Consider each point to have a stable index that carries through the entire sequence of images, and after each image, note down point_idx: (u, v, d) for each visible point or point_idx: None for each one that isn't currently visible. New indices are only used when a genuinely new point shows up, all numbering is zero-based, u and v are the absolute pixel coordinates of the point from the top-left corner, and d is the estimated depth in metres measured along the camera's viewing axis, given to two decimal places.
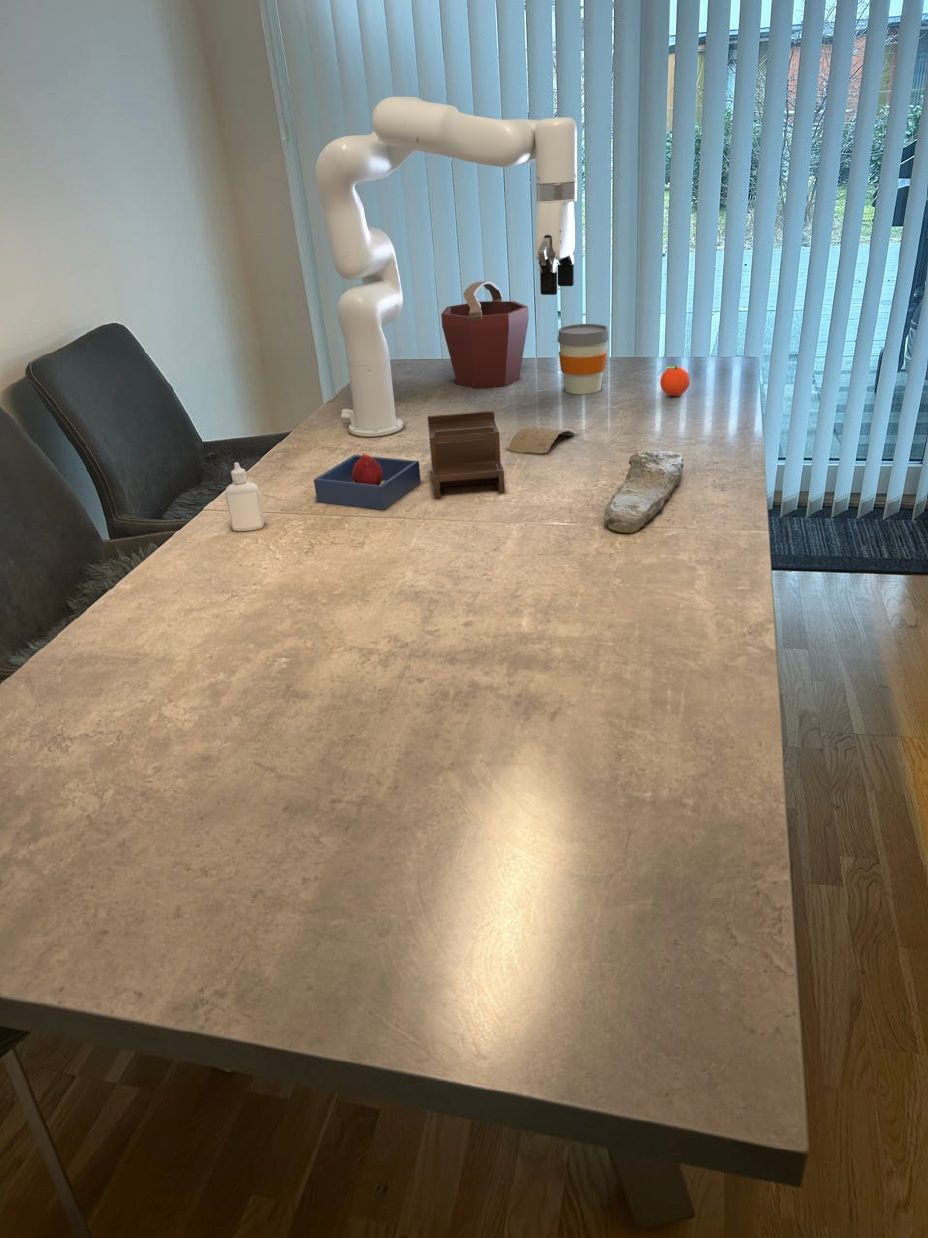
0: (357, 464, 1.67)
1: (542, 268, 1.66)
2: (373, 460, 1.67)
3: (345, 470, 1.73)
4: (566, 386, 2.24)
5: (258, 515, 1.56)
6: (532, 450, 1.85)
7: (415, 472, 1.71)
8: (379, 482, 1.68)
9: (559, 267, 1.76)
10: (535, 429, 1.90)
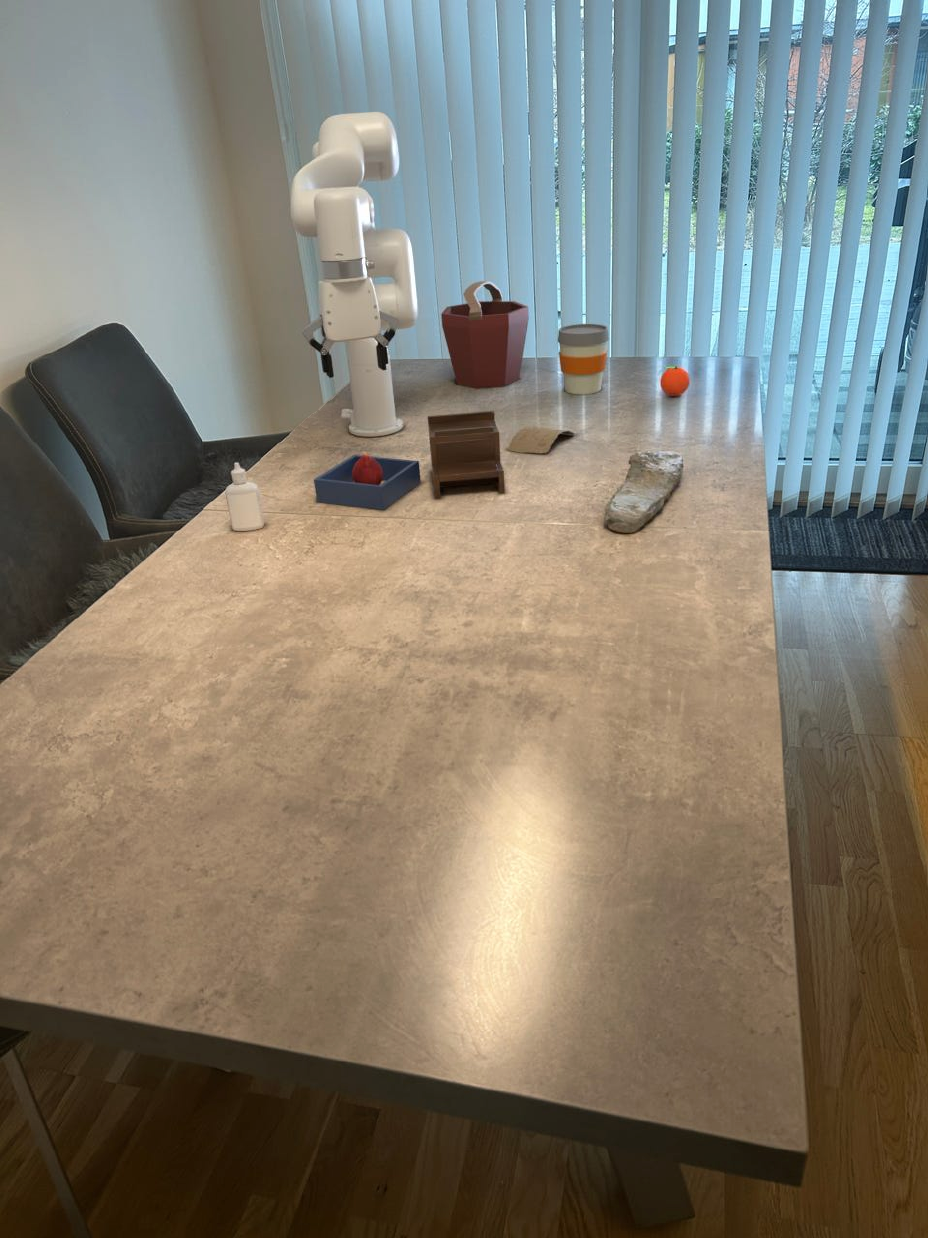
0: (357, 464, 1.67)
1: None
2: (373, 460, 1.67)
3: (345, 470, 1.73)
4: (566, 386, 2.24)
5: (258, 515, 1.56)
6: (532, 450, 1.85)
7: (415, 472, 1.71)
8: (379, 482, 1.68)
9: (376, 348, 1.60)
10: (535, 429, 1.90)
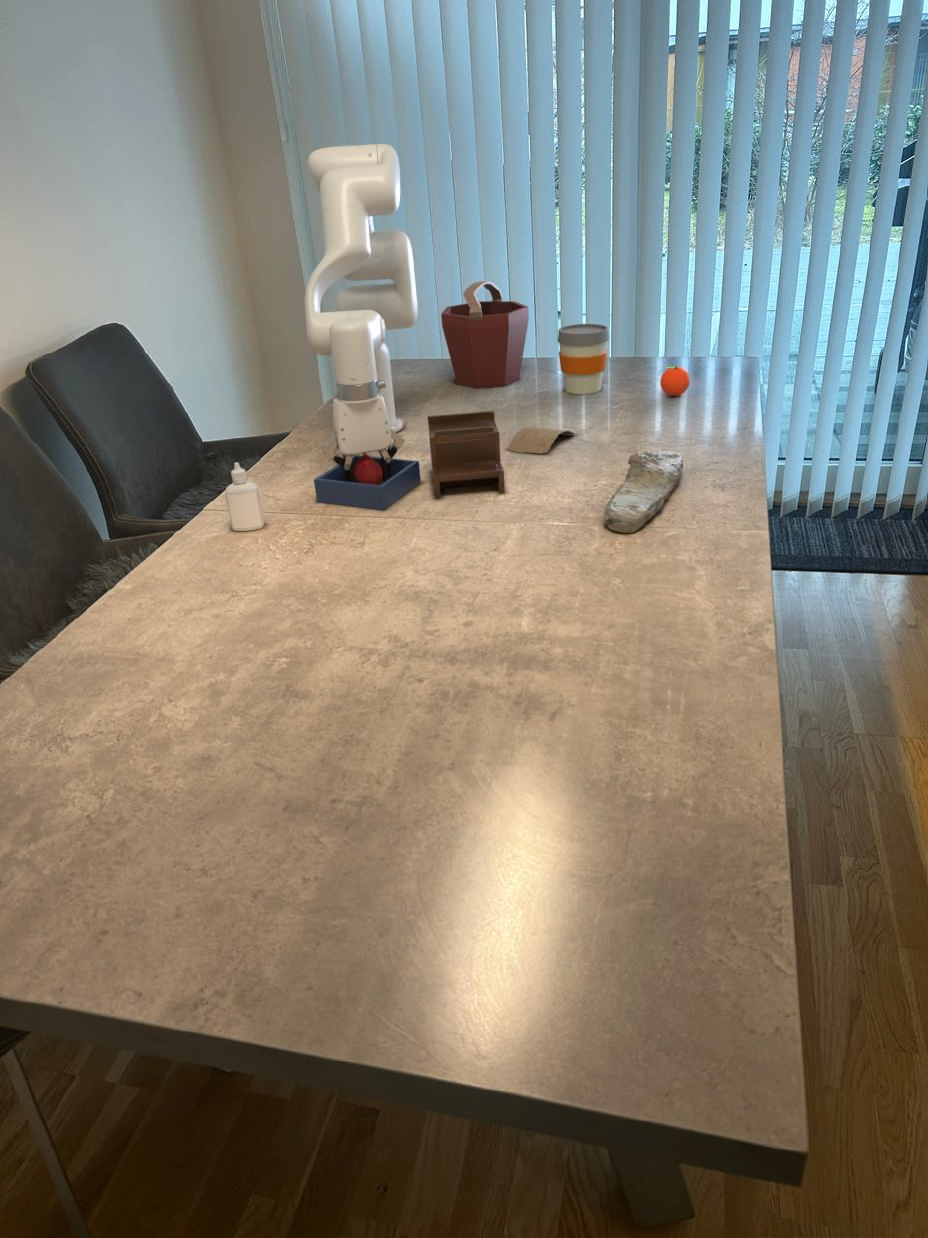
0: (357, 464, 1.67)
1: None
2: (373, 460, 1.67)
3: None
4: (566, 386, 2.24)
5: (258, 515, 1.56)
6: (532, 450, 1.85)
7: (415, 472, 1.71)
8: (379, 482, 1.68)
9: (379, 462, 1.70)
10: (535, 429, 1.90)
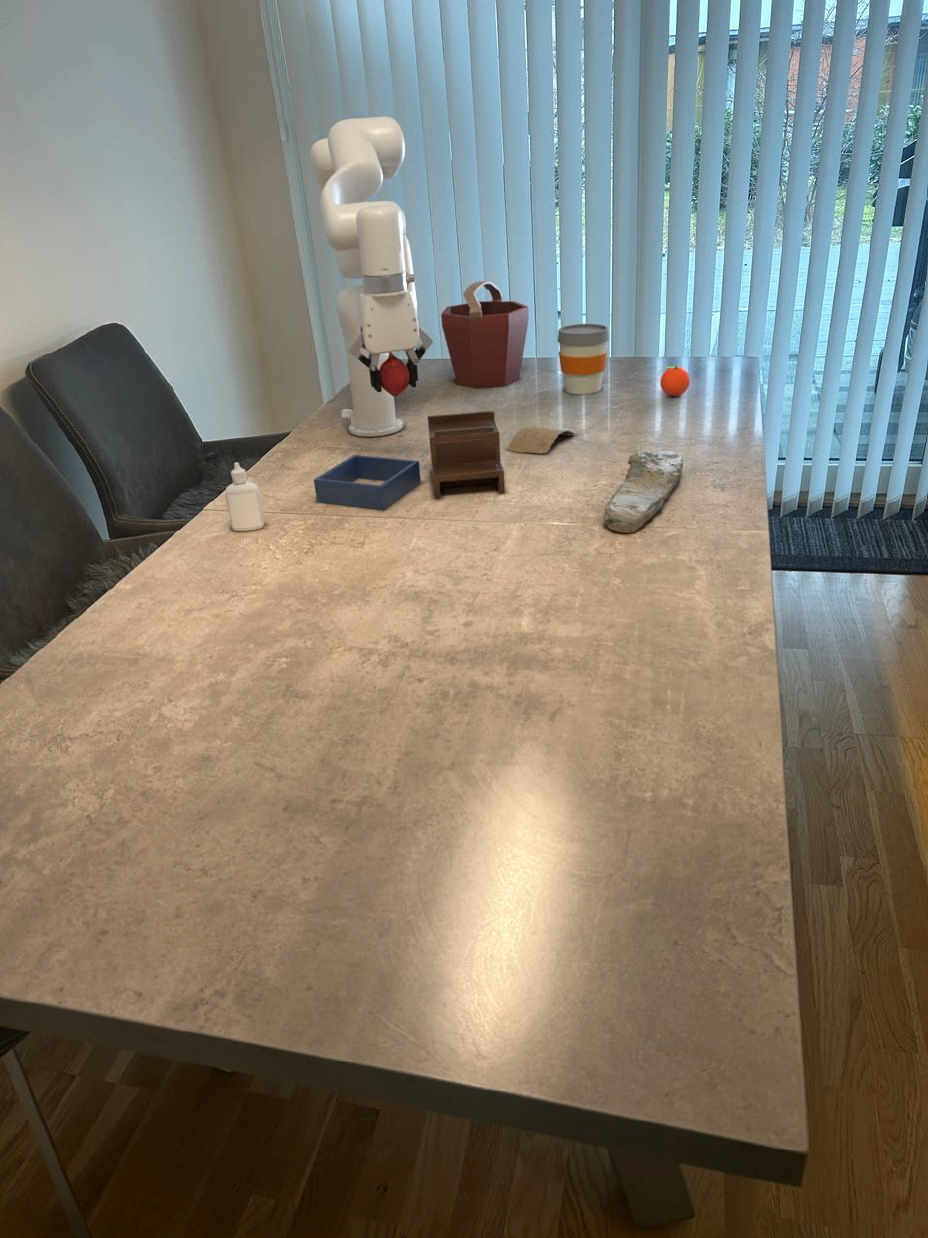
0: (383, 365, 1.60)
1: None
2: (400, 361, 1.60)
3: (345, 470, 1.73)
4: (566, 386, 2.24)
5: (258, 515, 1.56)
6: (532, 450, 1.85)
7: (415, 472, 1.71)
8: (406, 385, 1.61)
9: (406, 365, 1.63)
10: (535, 429, 1.90)
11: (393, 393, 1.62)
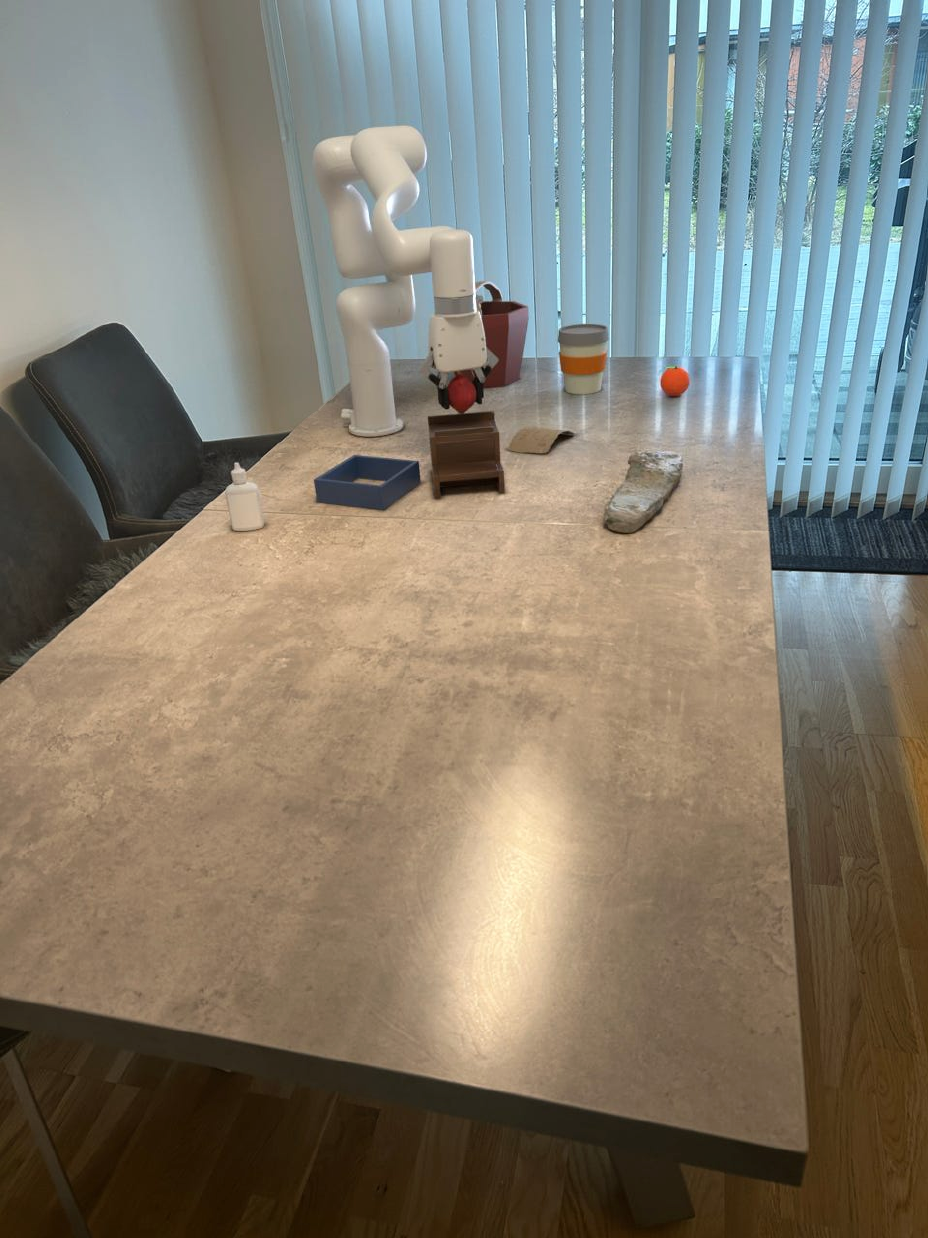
0: (451, 383, 1.65)
1: None
2: (467, 379, 1.65)
3: (345, 470, 1.73)
4: (566, 386, 2.24)
5: (258, 515, 1.56)
6: (532, 450, 1.85)
7: (415, 472, 1.71)
8: (473, 402, 1.66)
9: None
10: (535, 429, 1.90)
11: (460, 410, 1.66)
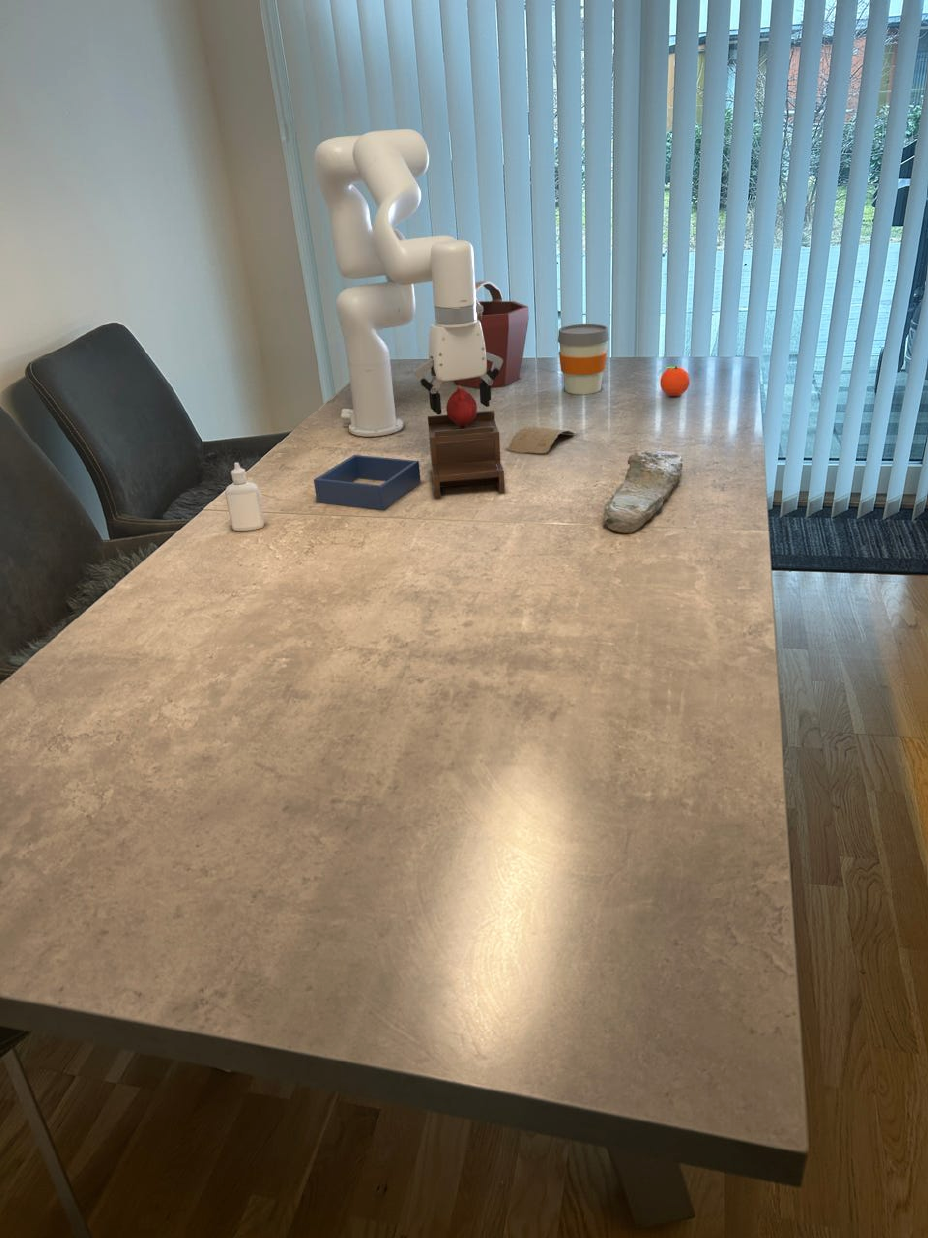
0: (452, 397, 1.66)
1: None
2: (468, 393, 1.66)
3: (345, 470, 1.73)
4: (566, 386, 2.24)
5: (258, 515, 1.56)
6: (532, 450, 1.85)
7: (415, 472, 1.71)
8: (473, 416, 1.67)
9: (480, 385, 1.69)
10: (535, 429, 1.90)
11: (461, 424, 1.68)
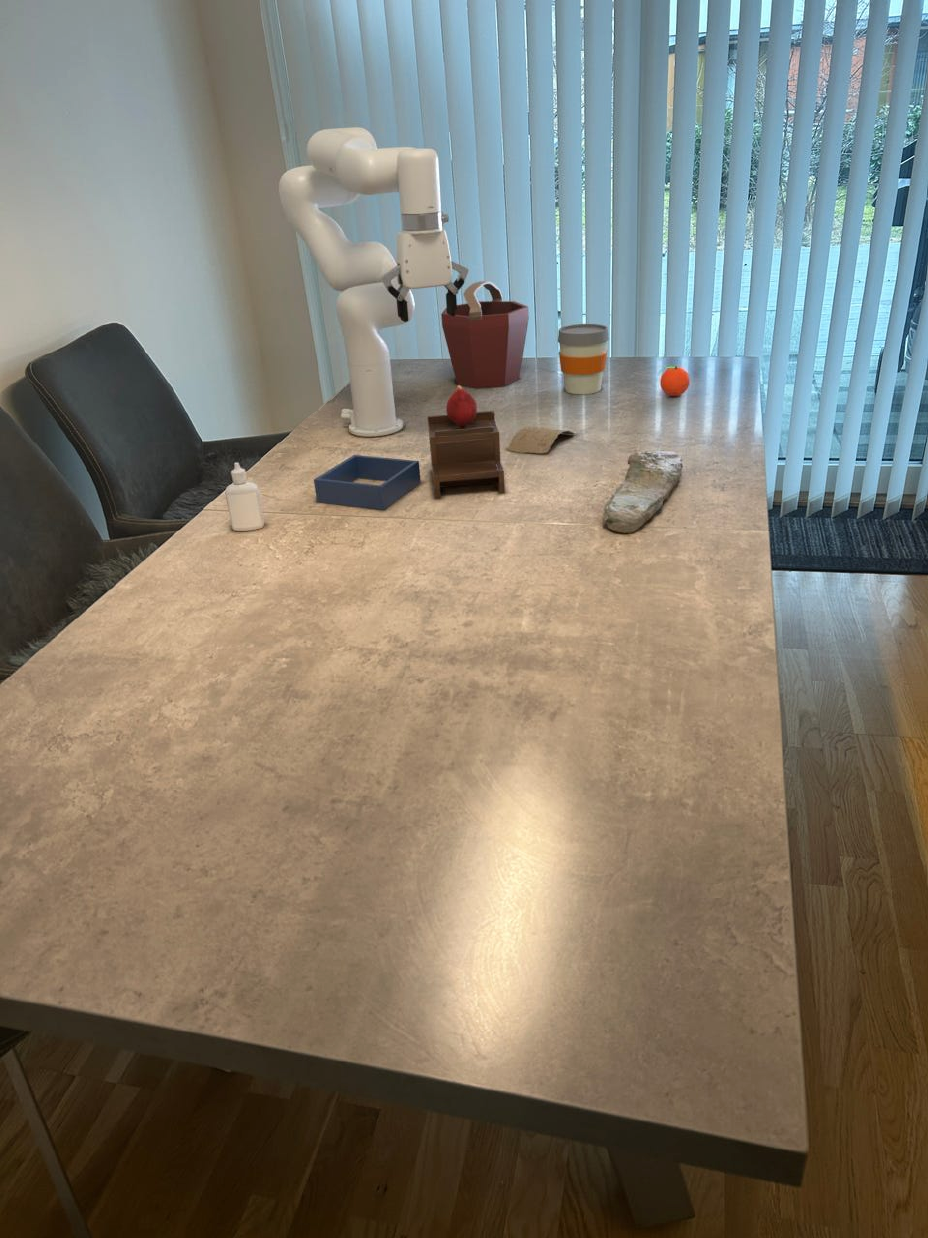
0: (452, 397, 1.66)
1: (391, 294, 1.71)
2: (468, 393, 1.66)
3: (345, 470, 1.73)
4: (566, 386, 2.24)
5: (258, 515, 1.56)
6: (532, 450, 1.85)
7: (415, 472, 1.71)
8: (473, 416, 1.67)
9: (446, 295, 1.75)
10: (535, 429, 1.90)
11: (461, 424, 1.68)
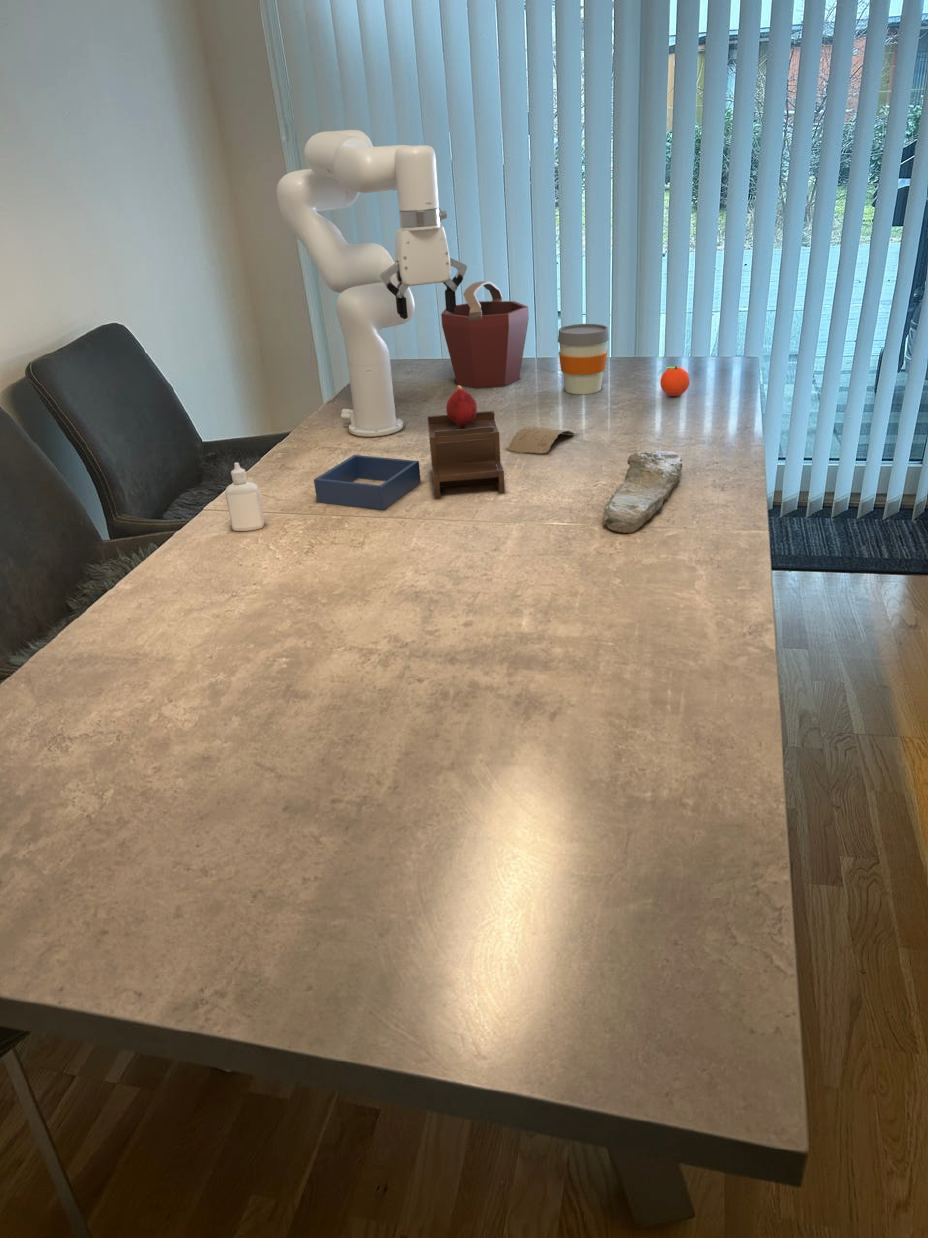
0: (452, 397, 1.66)
1: (391, 292, 1.71)
2: (468, 393, 1.66)
3: (345, 470, 1.73)
4: (566, 386, 2.24)
5: (258, 515, 1.56)
6: (532, 450, 1.85)
7: (415, 472, 1.71)
8: (473, 416, 1.67)
9: (445, 292, 1.75)
10: (535, 429, 1.90)
11: (461, 424, 1.68)
